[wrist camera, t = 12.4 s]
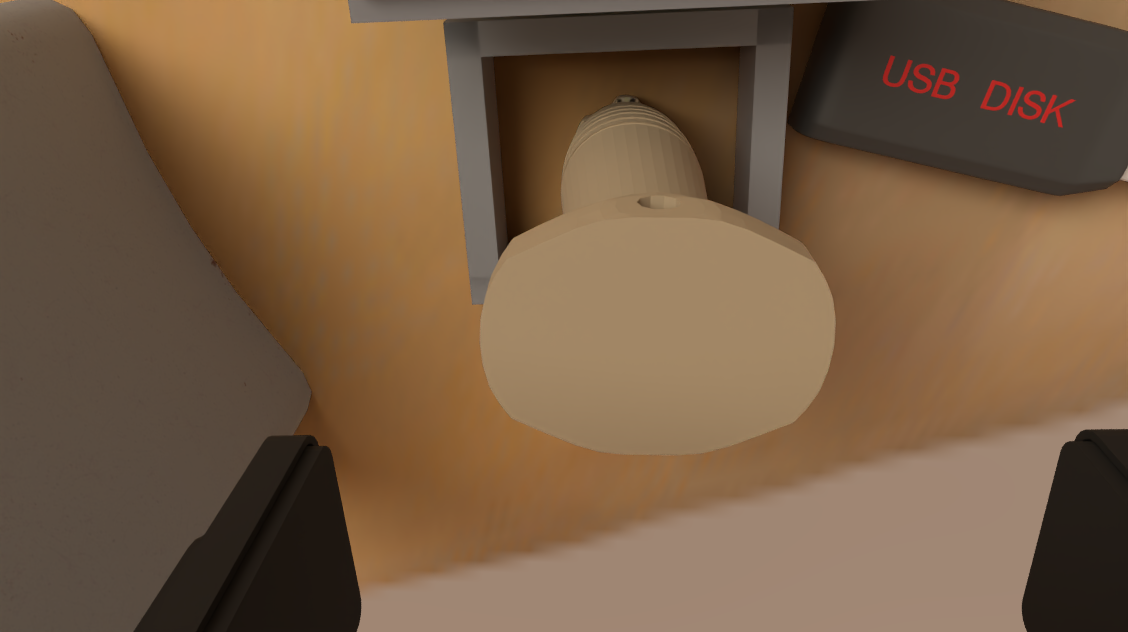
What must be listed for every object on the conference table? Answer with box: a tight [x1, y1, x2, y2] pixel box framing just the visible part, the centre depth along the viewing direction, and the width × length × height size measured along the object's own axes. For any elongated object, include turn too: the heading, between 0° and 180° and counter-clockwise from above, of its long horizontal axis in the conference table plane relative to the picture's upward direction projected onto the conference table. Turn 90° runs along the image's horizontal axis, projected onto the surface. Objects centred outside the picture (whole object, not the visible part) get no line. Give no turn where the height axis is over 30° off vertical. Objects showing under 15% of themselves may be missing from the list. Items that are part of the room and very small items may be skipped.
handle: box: [480, 95, 836, 455], centre depth 22 cm, size 5×6×15 cm
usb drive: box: [788, 0, 1128, 196], centre depth 27 cm, size 5×12×3 cm, turn 77°
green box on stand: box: [348, 0, 867, 305], centre depth 23 cm, size 12×16×9 cm
